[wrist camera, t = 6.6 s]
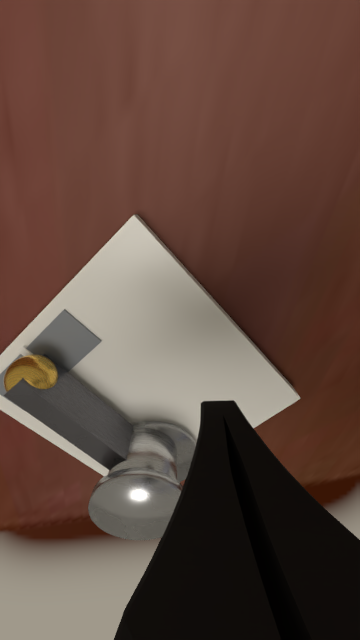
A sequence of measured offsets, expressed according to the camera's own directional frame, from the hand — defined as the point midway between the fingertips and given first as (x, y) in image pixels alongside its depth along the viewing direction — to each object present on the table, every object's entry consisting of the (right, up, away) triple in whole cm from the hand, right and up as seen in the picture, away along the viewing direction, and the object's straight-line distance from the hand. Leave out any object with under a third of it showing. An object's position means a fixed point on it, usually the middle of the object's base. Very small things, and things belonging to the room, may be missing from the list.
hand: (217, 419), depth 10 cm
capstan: (-7, -4, +10) cm, 12 cm away
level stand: (-5, -1, +10) cm, 12 cm away
